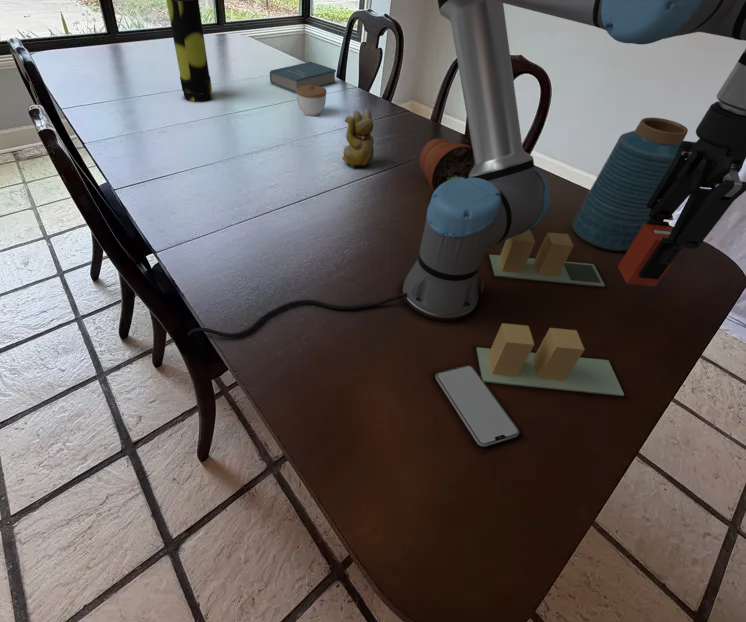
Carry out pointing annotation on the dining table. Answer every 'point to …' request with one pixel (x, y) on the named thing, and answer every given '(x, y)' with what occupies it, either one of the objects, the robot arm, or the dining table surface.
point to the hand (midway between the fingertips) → (642, 266)
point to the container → (190, 49)
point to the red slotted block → (643, 254)
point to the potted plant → (445, 161)
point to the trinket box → (311, 99)
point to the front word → (545, 362)
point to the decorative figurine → (359, 139)
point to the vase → (628, 184)
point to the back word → (543, 261)
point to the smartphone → (477, 406)
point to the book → (302, 76)
